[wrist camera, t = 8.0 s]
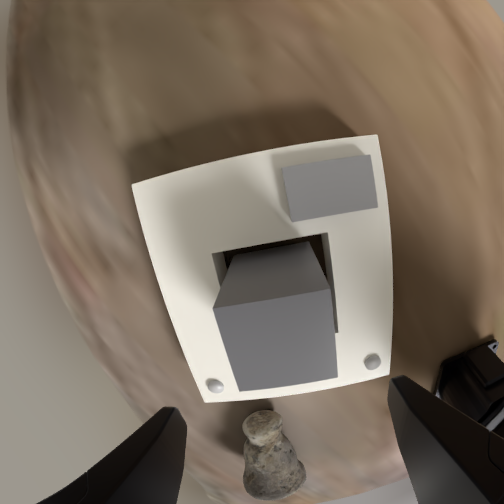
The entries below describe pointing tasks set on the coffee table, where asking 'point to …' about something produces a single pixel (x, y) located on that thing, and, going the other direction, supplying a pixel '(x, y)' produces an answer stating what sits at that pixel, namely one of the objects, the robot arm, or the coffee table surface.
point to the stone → (270, 458)
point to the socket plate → (271, 230)
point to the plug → (277, 318)
